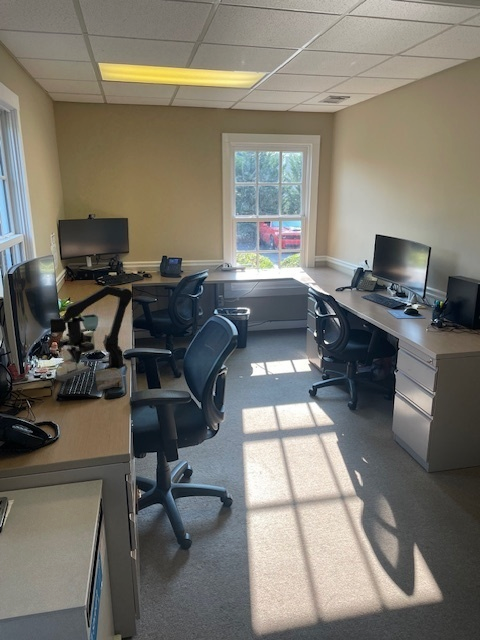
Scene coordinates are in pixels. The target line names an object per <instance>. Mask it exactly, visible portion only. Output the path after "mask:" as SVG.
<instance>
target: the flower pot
mask: <svg viewBox="0 0 480 640" xmlns="http://www.w3.org/2000/svg"><path fill="white" fill-rule="evenodd" d="M80 316H81V317H82V318H84V321H81V323H82V326H83V327H84V329H85V330H86V329H87V330H86V331H88V330H89V331H94V330H93V329H95V330H97V328H98V325H99V316H98V315H96V314H94V313H93V314H87V315H86V314H84V315H80Z"/></svg>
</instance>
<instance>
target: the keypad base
mask: <svg viewBox="0 0 480 640" xmlns="http://www.w3.org/2000/svg"><path fill="white" fill-rule="evenodd" d="M88 370H91V366H88V365H84V367H83V368H80V369H75V370H72V372H68V371H67V374H64V375H61V376H58V375H57V376H56V380H55V381H60V382H66V381H68V380H67V379H69V378H71V377H74V376H76V375H78V374H81V373H83V372H86V371H88ZM76 377H77V376H76ZM74 378H75V377H74ZM71 379H72V378H71ZM65 380H66V381H65ZM69 380H70V379H69Z"/></svg>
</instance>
